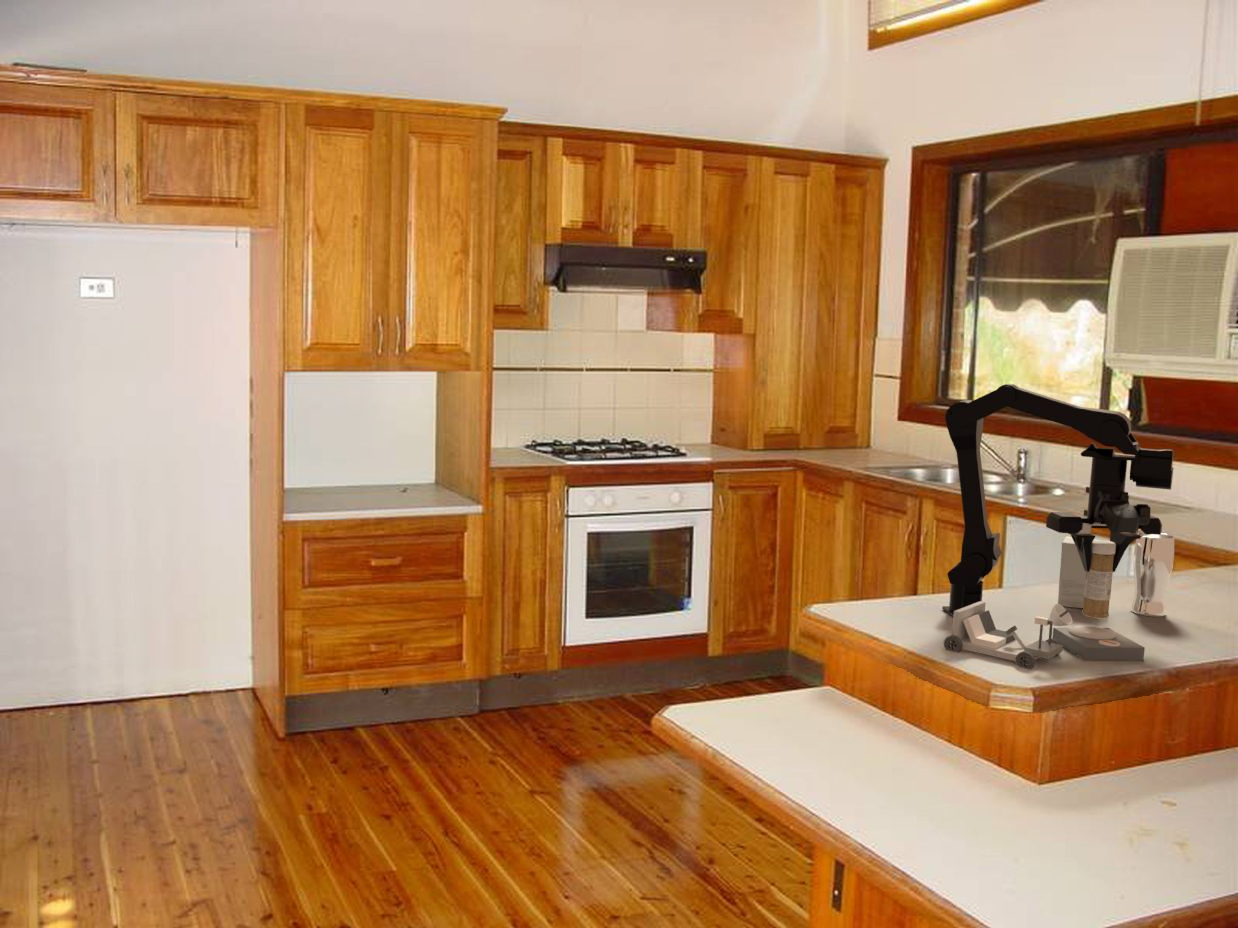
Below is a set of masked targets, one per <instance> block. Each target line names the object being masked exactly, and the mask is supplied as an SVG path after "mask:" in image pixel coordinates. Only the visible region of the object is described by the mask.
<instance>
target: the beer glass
mask: <svg viewBox="0 0 1238 928" xmlns="http://www.w3.org/2000/svg"><path fill="white" fill-rule="evenodd" d="M1138 535H1140V536H1142V537H1141V538H1140V539H1136V540H1135V544H1134V548H1133V549H1134V552H1133V562H1132V563H1133V576H1134V586H1135V587H1134V598H1133V602H1132V605H1131V608H1130V611H1131V612H1132V613H1133V612H1134V614H1135V615H1136V614H1137V615H1139V614H1140V616H1145V617H1152V618H1153V617H1155V618H1157V617H1158V618H1159V617H1165V616H1166V614H1167V611H1166V592H1167V588H1168V585H1169V582H1170V579H1171V574H1172V571H1173V567H1174V560H1175V536H1174V535H1172V534H1167V533H1163V532H1161V534H1160V535H1154V534H1144V533H1143V532H1142V531H1138Z"/></svg>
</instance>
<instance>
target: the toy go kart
mask: <svg viewBox="0 0 1238 928" xmlns="http://www.w3.org/2000/svg"><path fill="white" fill-rule="evenodd" d="M986 603H987V602H986V601H982V602H981V601H979V602H977V603H974V604H971V605H969V606H966V607H963V608H961V609H958V610H956V611H954V615H953V616H952V628H951V629H952V630H951V631H952V632H951V635H948V636H946V637H945V639H944V640H943V647H944V649H945V650H946V651H948V652H953V653H960V652H961V651H962V650H965V651H971V652H973V653H974V652H975V653H978V654H979V653H980V654H983V655H988V656H992V657H996V658H1000V659H1005V660H1008V661H1014V662H1015V664H1016V666H1017V667H1018V666H1019V667H1018V668H1023V669H1027V670H1032V669H1033V668H1034V667H1035V666H1036V660H1037V659H1039V658H1043V659H1050V658H1053V657H1054V655H1055V656H1056V657H1057V655H1058V656H1059V655H1060V654H1061V653H1062V652H1063V651H1064V647H1063V645H1061V644H1060V643H1059V642H1058V641H1057V640H1055V639H1052V637H1053V626H1054V627H1064V626H1065V627H1066V626H1071V625H1072V624H1073V618H1072V616H1071V614H1070V613H1069V612H1071V610H1072V609H1071V607H1068V609H1066V607H1065V606H1061V605H1059V604H1058V603H1055V604H1054V605H1053V607H1052V609H1051V612H1050V615H1049V618H1047V617H1042V616H1035V617H1034V624H1035V625H1040V627H1039V636H1038V640H1037V641H1032V640H1028V639H1023V638H1020V636H1018V635H1017V633H1016V631H1017V630H1018V627H1017V626H1016V625H1013V626H1011V627H1010V628H1008V629H1007V630H1006V631H1005V630H1001V629H997V628H996V625H995V622H994V620H993V618H992V615H991V612H990V610H989V609H988V610H986ZM1044 626H1045V627H1047V626H1049V628H1048V629H1049V632H1048V639H1046V640H1043V630H1044V629H1043V627H1044Z"/></svg>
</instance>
